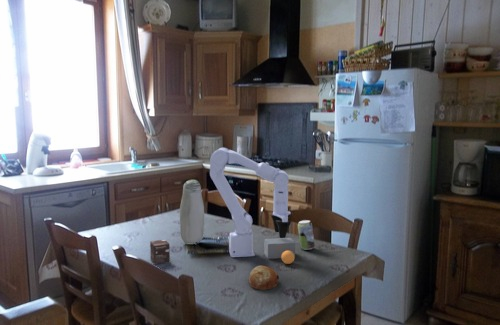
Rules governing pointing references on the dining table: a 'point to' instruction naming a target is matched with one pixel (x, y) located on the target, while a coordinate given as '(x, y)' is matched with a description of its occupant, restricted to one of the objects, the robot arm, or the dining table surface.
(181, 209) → the white tall rounded cylinder
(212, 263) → the dining table surface
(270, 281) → the bread roll
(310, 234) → the beverage can
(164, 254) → the box
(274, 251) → the light grey cuboid
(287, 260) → the ball
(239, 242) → the robot arm
